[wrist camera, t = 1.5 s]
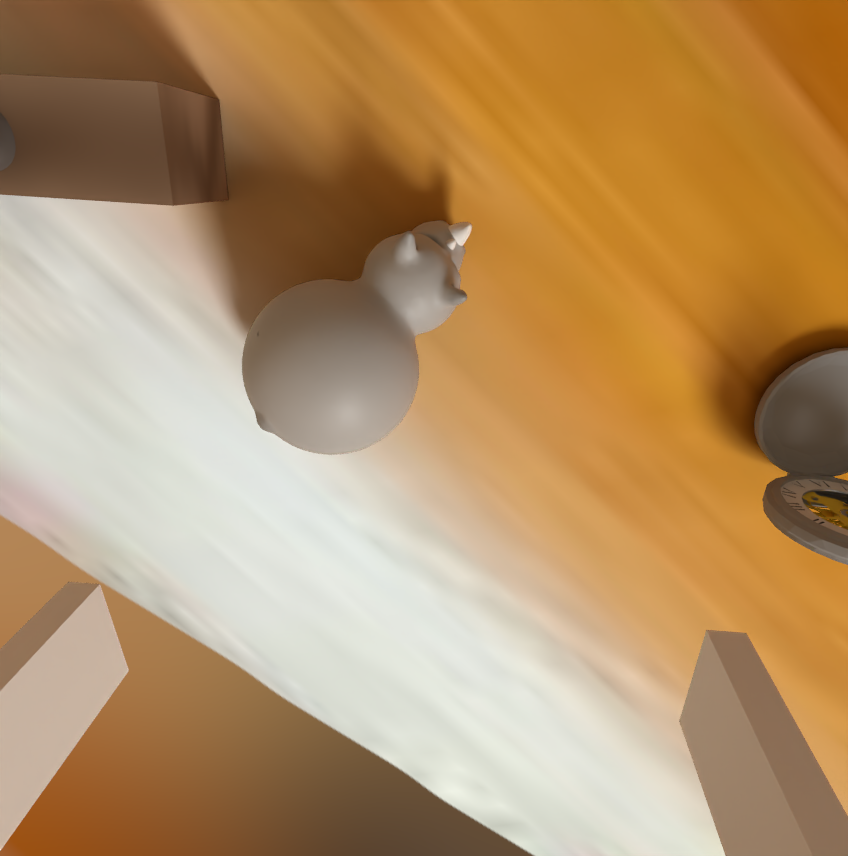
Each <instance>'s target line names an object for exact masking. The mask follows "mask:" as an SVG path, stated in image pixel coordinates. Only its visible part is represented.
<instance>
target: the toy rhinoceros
mask: <svg viewBox="0 0 848 856" xmlns="http://www.w3.org/2000/svg"><path fill="white" fill-rule="evenodd" d="M471 230H472V225H471V223H469V222H460V223H456V224H453V225H448V223H447V222H445V221H442V220H438V221H429V222H425V223H423V224H420V225H418V226H417V227H415V228H414V229H413V230H412V231H406V232H404V233H403V234H397V235H394V236H391V237H388V238H386V239H384V240H382V241H381V242H380V243H378V244H377V245H376V246H375V247H374V248H373V249H372V251H371V252H370V253H369V255H368V257H367V259H366V262H365V265H364V269H363V273H362V276H361V277H360V278H359V279H357V280H354V281H342V280H335V279H321V280H313V281H309V282H305V283H301V284H299V285H296V286H294V287H291V288H289V289H287V290H286V291H284V292H282V293H281V294H279V295H278V296H276V297H275V298H274V299H273V300H271V301H270V302H269V303H268V304H267V305H266V306H265V307H264V308H263V310H262V311H261V312H260V313H259V315H258V316H257V318H256V319H255V321H254V322H253V324H252V326H251V328H250V330H249V333H248V335H247V338H246V341H245V345H244V350H243V357H242V374H243V381H244V386H245V389H246V393H247V396H248V398H249V400H250V403H251V405H252V407H253V409H254V411H255V414H256V418H257V422H258V424H259V426H260V428H262V429H263V430H265V431H268V432H271V433H273V434H275V435H277V436H278V437H280V438H281V439H282V440H284V441H285V442H287V443H289V444H291V445H293V446H295V447H297V448H300V449H302V450H305V451H309V452H313V453H318V454H327V455H337V454H346V453H352V452H355V451H359V450H362V449H365V448H367V447H369V446H371V445H373V444H375V443H377V442H378V441H380V440H382V439H383V438H384V437H386V436H387V435H388V434H389V433H390V432H392V431H393V430H394V429H395V428H396V427H397V425H398V424H399V423H400V422H401V421H402V419H403V418H404V416H405V415H406V413H407V412H408V410H409V408H410V406H411V404H412V401H413V399H414V396H415V393H416V389H417V385H418V378H419V361H418V355H417V350H416V345H415V336H416V335H418V334H421V333H425V332H428V331H431V330H433V329H435V328H437V327H438V326H440V325H441V324H442V323H444V322H445V321H446V320H447V319H448V318H449V316H450V315H451V314H452V312H453V311H454V309H455V307H456V305H459V304H461V303H463V302H464V301H466V299H467V295H466V293H465V292H464V291H463V290H460V282H461V278H460V274H459V272H458V271H459V269H460V267H461V264H462V260H463V256H464V254H465V247H464V246H463V244H464V243H465V242H466V240H467V238H468V237H469V235H470V233H471Z"/></svg>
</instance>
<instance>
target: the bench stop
mask: <svg viewBox="0 0 848 856" xmlns="http://www.w3.org/2000/svg"><path fill="white" fill-rule="evenodd" d="M0 194H2V195H18V196H33V197H49V198H64V199H80V200H95V201H110V202H126V203H141V204H157V205H172V206H174V205H184V204H194V203H204V202H214V201H224V200H228V191H227V180H226V169H225V158H224V147H223V137H222V126H221V115H220V104H219V100H218V99H215V98H211V97H208V96H204V95H201V94H197V93H194V92H190V91H187V90H184V89H180V88H177V87H173V86H170V85H166V84H163V83H159V82H151V81H131V80H111V79H91V78H71V77H51V76H31V75H11V74H0Z"/></svg>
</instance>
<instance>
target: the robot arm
mask: <svg viewBox="0 0 848 856" xmlns="http://www.w3.org/2000/svg"><path fill="white" fill-rule="evenodd" d="M128 671H129V670H128V667H127V664H126V661H125V658H124V655H123V652H122V649H121V646H120V643H119V640H118V638H117V634H116V631H115V628H114V625H113V622H112V619H111V616H110V613H109V610H108V607H107V604H106V601H105V598H104V595H103V592H102V589H101V586H100V584H91V583H78V582H68V583H67V584H66V585H65V586H64V587H63V588H62V589H61V590H60V591H58V592H57V594H55V596H53V597H52V599H50V600H49V601H48V602H47V603H46V604H45V605H44V606H43V607H42V608H41V609H40V610H39V611H38V612H37V613H36V614H35V615H34V616H33V617H32V618H31V619H30V620H29V621H28V622H27V623H26V624H25V625H24V626H23V627H22V628H21V629H20V630H19V631H18V632H17V633H16V634H15V635H14V636H13V637H12V638H11V639H10V640H9V641H8V642H7V643H6V644H5V645H4V646H3V647H2V648H1V649H0V850H1V849H2V848H3V846H4V845H5V843H6V842H7V841H8V839H9V838H10V836H11V835H12V834H13V832H14V831H15V829H16V828H17V826H18V825H19V824H20V822H21V821H22V819H23V818H24V817H25V815H26V814H27V813H28V811H29V810H30V808H31V807H32V806H33V804H34V803H35V801H36V800H37V798H38V797H39V796H40V794H41V793H42V792H43V790H44V789H45V787H46V786H47V785H48V783H49V782H50V780H51V779H52V777H53V776H54V775H55V773H56V772H57V771H58V769H59V768H60V766H61V765H62V763H63V762H64V761H65V759H66V758H67V757H68V755H69V754H70V752H71V751H72V750H73V748H74V747H75V745H76V744H77V743H78V741H79V740H80V738H81V737H82V736H83V734H84V733H85V731H86V730H87V728H88V727H89V726H90V724H91V723H92V721H93V720H94V719H95V717H96V716H97V715H98V713H99V712H100V710H101V709H102V708H103V706H104V705H105V703H106V702H107V700H108V699H109V698H110V696H111V695H112V693H113V692H114V691H115V689H116V688H117V687H118V685H119V684H120V682H121V681H122V679H123V678H124V677H125V675H126V674H127V673H128ZM679 722H680V725H681V727H682V730H683V733H684V736H685V739H686V742H687V745H688V748H689V751H690V754H691V756H692V759H693V762H694V765H695V768H696V771H697V774H698V777H699V780H700V783H701V785H702V788H703V791H704V794H705V797H706V800H707V803H708V806H709V809H710V812H711V815H712V817H713V820H714V823H715V826H716V829H717V832H718V835H719V838H720V841H721V844H722V846H723V849H724V852H725V855H726V856H848V816H847V814H846V813H845V811H844V809H843V807H842V805H841V804H840V802H839V800H838V798H837V796H836V795H835V793H834V791H833V789H832V787H831V785H830V784H829V782H828V780H827V778H826V776H825V775H824V773H823V771H822V769H821V767H820V766H819V764H818V762H817V760H816V758H815V757H814V755H813V753H812V751H811V749H810V748H809V746H808V744H807V742H806V740H805V738H804V737H803V735H802V733H801V731H800V729H799V728H798V726H797V724H796V722H795V720H794V719H793V717H792V715H791V713H790V711H789V710H788V708H787V706H786V704H785V702H784V701H783V699H782V697H781V695H780V693H779V691H778V690H777V688H776V686H775V684H774V682H773V681H772V679H771V677H770V675H769V673H768V672H767V670H766V668H765V666H764V664H763V663H762V661H761V659H760V657H759V655H758V654H757V652H756V650H755V648H754V646H753V644H752V643H751V641H750V639H749V637H748V635H747V634H746V633H739V632H726V631H713V630H706V633H705V637H704V640H703V643H702V647H701V650H700V653H699V657H698V660H697V663H696V667H695V670H694V673H693V677H692V680H691V684H690V687H689V690H688V694H687V697H686V700H685V704H684V707H683V710H682V714H681V717H680V721H679Z"/></svg>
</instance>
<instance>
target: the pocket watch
mask: <svg viewBox="0 0 848 856" xmlns="http://www.w3.org/2000/svg"><path fill="white" fill-rule="evenodd" d="M754 428H755V436H756V439H757V443H758V444H759V447H760V449H761V450H762V451H763V452H764V454H765V455H766V456H767V457H768V459H769V460H770V461H771V462H772V463H773V464H775V465H776V466H777V467H779V468H780V469H782V470H784V471H786V472H788V473H787V476H785V477H781V478H776V479H775V480H773V481H772V482H770V483H769V484H767V487H766V490H765V493H764V496H763V507H764V512H765V514H766V515H767V517H768V518H769V519H770V521H771V522H772V523H773V524H774V526H775V527H776V528H778V529H779V530H780V531H781V532H783V533H784V534H785V535H786V536H788V537H789V538H791V539H792V540H794V541H795V542H797V543H799V544H801V545H803V546H804V547H806V548H808V549H810V550H812V551H814V552H816V553H819V554H821V555H823V556H826V557H828V558H830V559H832V560H835V561H838V562H841V563H844V564H847V565H848V481H847V480H842V479H838V478H834V477H833V476H838V475H841V474H844V473H847V472H848V347H847V348H834V349H830V350H826V351H822V352H818V353H814V354H812V355H810V356H808V357H806V358H804V359H802V360H800V361H798V362H796V363H794V364H793V365H791V366H790V367H789V368H788V369H786V370H785V371H784V372H783V373H781V374H780V375H779V376H778V377H777V378H776V379H775V380H774V381H773V382H772V384H771V385H770V386H769V387H768V388H767V390H766V391H765V393H764V395H763V396H762V398H761V400H760V402H759V405H758V408H757V410H756V415H755V422H754ZM807 507H808V508H807ZM814 507H819V508H814ZM809 508H811V509H814V510H816V511H818V510H820V511H821V512H820V511H818V512H820V513H816V512H812V511H811V510H810V509H809ZM820 508H829V509H830V510H827V509H820ZM841 513H842V514H841ZM819 516H820V517H819ZM827 519H830V520H827ZM831 519H832V520H831ZM834 520H839V521H834ZM837 523H838V524H837ZM834 524H836V525H834ZM839 524H840V525H839ZM839 526H842V527H839Z"/></svg>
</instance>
